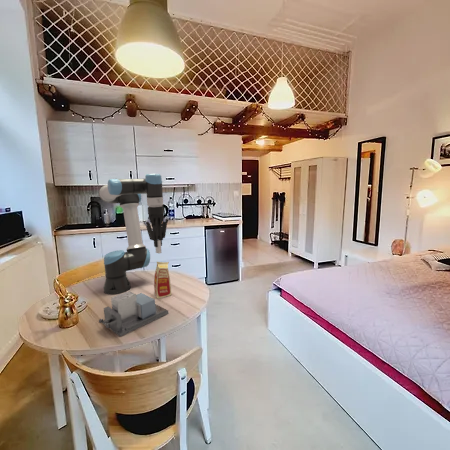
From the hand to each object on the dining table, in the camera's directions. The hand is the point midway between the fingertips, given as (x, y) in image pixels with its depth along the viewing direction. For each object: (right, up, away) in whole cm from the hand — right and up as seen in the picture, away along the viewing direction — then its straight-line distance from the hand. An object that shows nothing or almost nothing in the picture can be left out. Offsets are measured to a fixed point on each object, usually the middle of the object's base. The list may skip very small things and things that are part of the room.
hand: (158, 252), depth 129 cm
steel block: (-13, -30, -10) cm, 34 cm away
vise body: (-10, -31, -7) cm, 34 cm away
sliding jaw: (-7, -29, -4) cm, 30 cm away
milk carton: (-3, -27, +21) cm, 34 cm away
